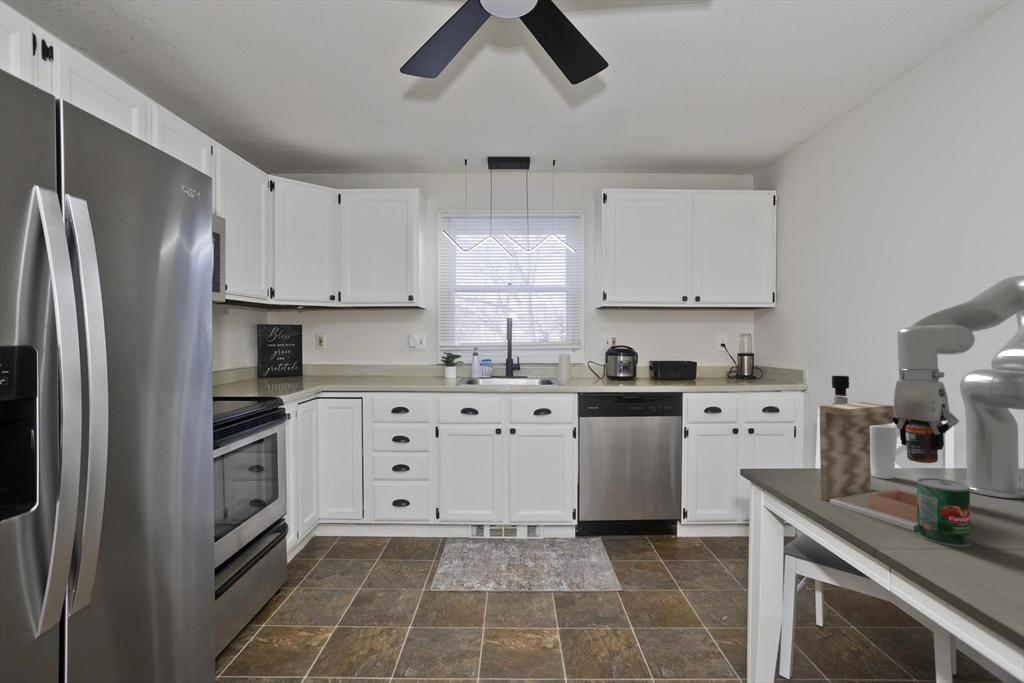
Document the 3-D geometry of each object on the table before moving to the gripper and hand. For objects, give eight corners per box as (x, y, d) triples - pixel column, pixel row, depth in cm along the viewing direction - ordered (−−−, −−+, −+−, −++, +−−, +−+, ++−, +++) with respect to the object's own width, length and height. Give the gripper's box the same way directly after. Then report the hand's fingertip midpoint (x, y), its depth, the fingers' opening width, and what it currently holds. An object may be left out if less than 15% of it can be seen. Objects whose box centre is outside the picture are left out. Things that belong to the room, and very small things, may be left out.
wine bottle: (828, 480, 134) (826, 375, 134) (856, 484, 130) (854, 375, 130) (827, 486, 129) (825, 376, 129) (856, 490, 125) (854, 377, 125)
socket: (874, 495, 120) (874, 479, 120) (961, 520, 104) (960, 501, 104) (829, 503, 115) (829, 487, 115) (913, 530, 98) (913, 511, 98)
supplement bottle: (938, 459, 119) (936, 415, 119) (937, 465, 115) (936, 418, 115) (907, 456, 123) (905, 413, 123) (906, 461, 119) (904, 416, 119)
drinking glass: (903, 481, 132) (902, 427, 132) (875, 480, 134) (874, 427, 134) (888, 474, 139) (888, 423, 139) (863, 473, 140) (862, 423, 140)
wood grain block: (864, 491, 124) (863, 402, 124) (894, 499, 117) (892, 405, 117) (820, 499, 118) (819, 405, 118) (849, 508, 112) (847, 409, 112)
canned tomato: (965, 550, 89) (964, 492, 89) (912, 537, 95) (911, 482, 95) (975, 539, 93) (974, 484, 94) (923, 527, 100) (922, 475, 100)
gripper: (970, 376, 112) (973, 452, 112) (890, 373, 128) (893, 439, 128) (950, 379, 110) (953, 456, 110) (872, 375, 126) (875, 442, 126)
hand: (921, 446), depth 119 cm, fingers closed on supplement bottle, 6 cm apart
